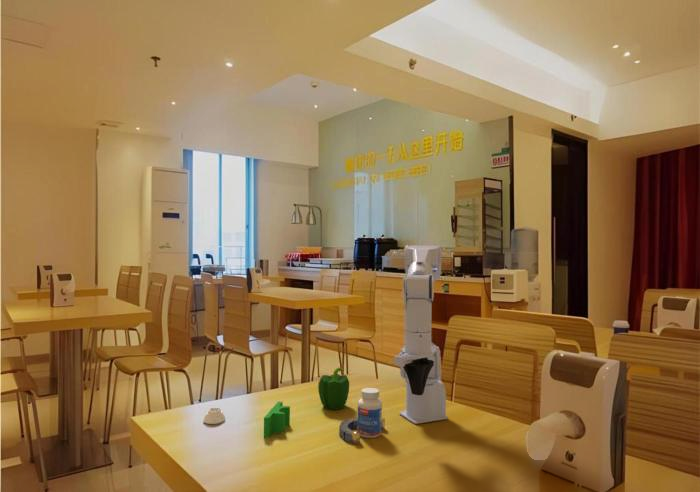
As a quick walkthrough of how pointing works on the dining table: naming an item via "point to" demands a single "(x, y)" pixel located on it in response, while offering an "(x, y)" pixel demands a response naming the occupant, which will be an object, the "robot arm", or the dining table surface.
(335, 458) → the dining table surface
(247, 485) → the dining table surface
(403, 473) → the dining table surface
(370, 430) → the pill bottle
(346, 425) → the snap ring
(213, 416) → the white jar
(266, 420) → the pipe clamp
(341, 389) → the bell pepper
